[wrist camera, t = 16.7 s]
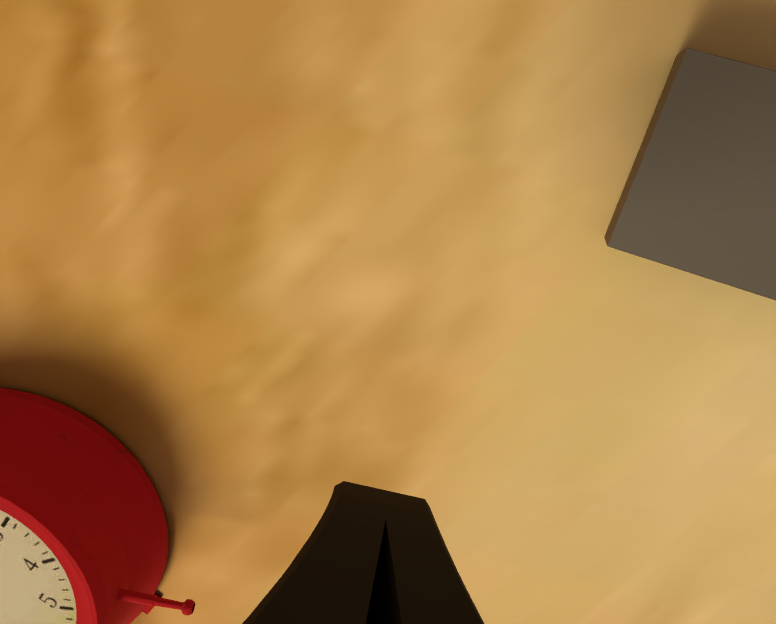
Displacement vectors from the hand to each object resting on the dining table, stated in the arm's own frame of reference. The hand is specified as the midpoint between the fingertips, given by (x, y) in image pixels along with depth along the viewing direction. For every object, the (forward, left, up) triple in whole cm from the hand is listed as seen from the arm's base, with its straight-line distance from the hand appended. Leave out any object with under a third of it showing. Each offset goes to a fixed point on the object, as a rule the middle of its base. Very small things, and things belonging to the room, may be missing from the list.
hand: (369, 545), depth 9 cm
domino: (-3, -8, -10) cm, 13 cm away
